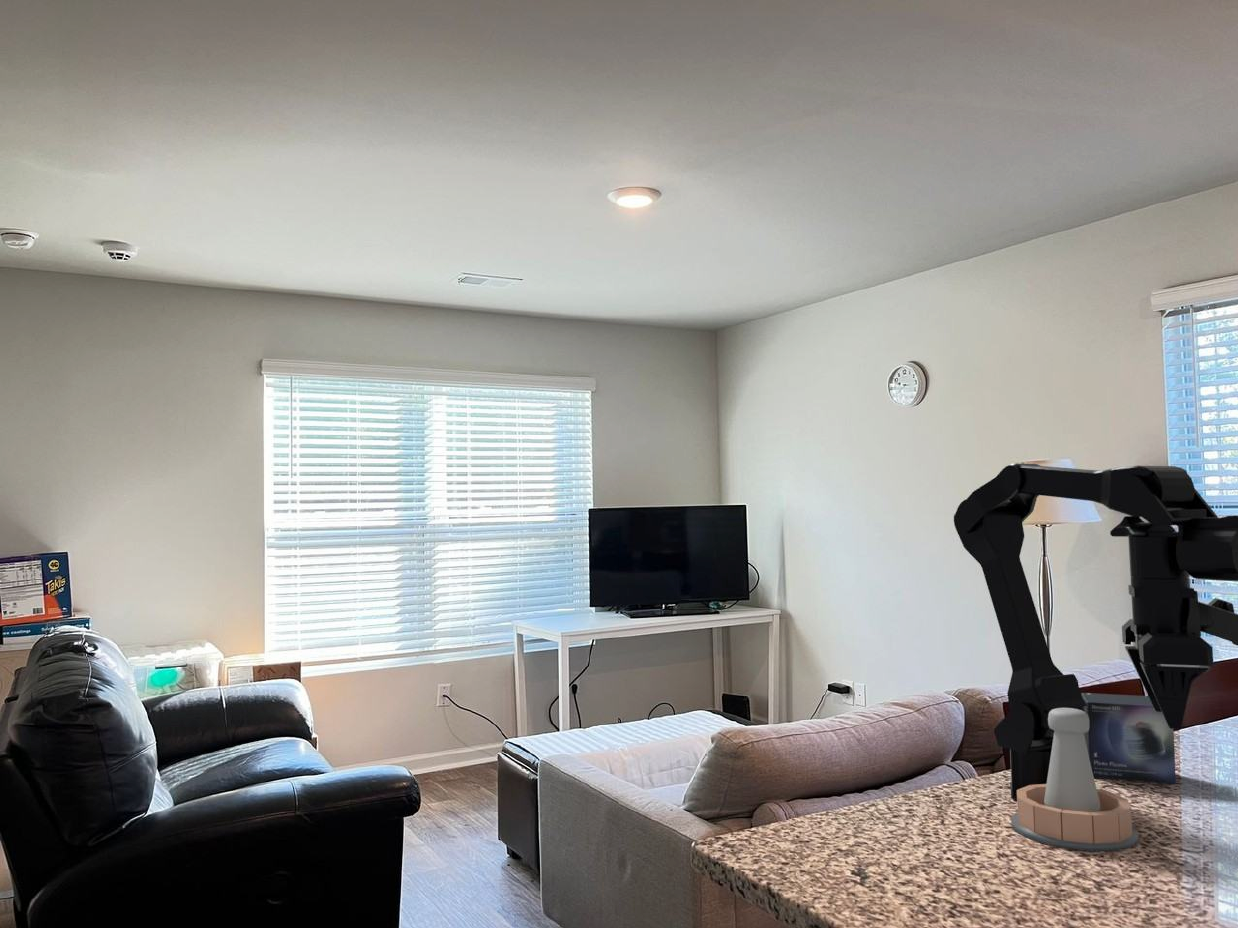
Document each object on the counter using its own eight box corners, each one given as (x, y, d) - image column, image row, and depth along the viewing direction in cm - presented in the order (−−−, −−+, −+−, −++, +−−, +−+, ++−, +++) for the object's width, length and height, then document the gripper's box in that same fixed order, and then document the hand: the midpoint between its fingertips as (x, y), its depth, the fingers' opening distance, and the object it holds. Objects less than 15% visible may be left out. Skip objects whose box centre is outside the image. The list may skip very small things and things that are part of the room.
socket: (1013, 842, 101) (1011, 809, 101) (1010, 807, 113) (1008, 777, 113) (1148, 857, 96) (1146, 822, 96) (1129, 818, 108) (1128, 787, 108)
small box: (1089, 778, 125) (1085, 700, 125) (1082, 766, 131) (1079, 691, 131) (1178, 785, 121) (1174, 704, 122) (1167, 772, 127) (1163, 695, 128)
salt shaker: (1037, 816, 107) (1032, 704, 108) (1087, 816, 107) (1082, 703, 108) (1058, 833, 101) (1053, 714, 102) (1111, 833, 101) (1105, 714, 102)
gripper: (1268, 583, 91) (1278, 744, 89) (1225, 573, 108) (1233, 707, 107) (1140, 582, 95) (1148, 736, 94) (1118, 572, 112) (1125, 702, 111)
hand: (1167, 719), depth 101 cm, fingers open, 9 cm apart
